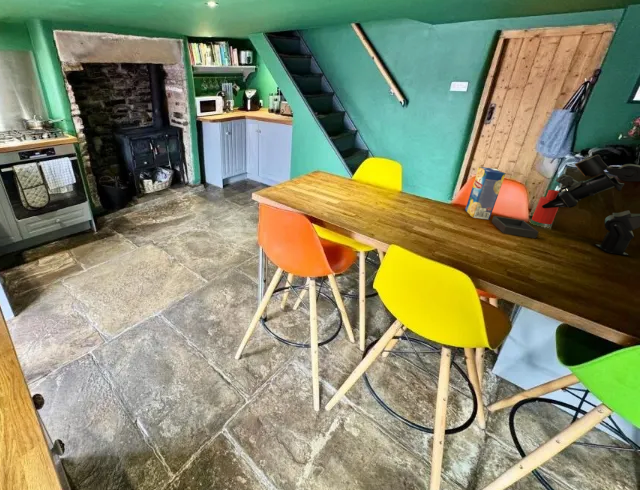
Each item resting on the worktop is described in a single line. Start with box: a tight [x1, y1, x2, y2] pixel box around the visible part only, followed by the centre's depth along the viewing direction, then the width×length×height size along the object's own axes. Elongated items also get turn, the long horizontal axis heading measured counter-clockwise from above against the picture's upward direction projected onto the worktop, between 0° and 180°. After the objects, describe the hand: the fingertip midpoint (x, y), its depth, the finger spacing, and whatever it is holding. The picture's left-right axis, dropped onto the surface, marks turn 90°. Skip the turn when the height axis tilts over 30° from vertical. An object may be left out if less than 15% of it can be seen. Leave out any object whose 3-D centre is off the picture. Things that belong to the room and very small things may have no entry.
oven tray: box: [491, 215, 539, 239], centre depth 128 cm, size 13×11×3 cm
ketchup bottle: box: [531, 189, 560, 225], centre depth 125 cm, size 6×6×14 cm
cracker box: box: [464, 166, 507, 221], centre depth 141 cm, size 7×11×22 cm, turn 162°
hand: (543, 205), depth 126 cm, fingers closed on ketchup bottle, 6 cm apart
